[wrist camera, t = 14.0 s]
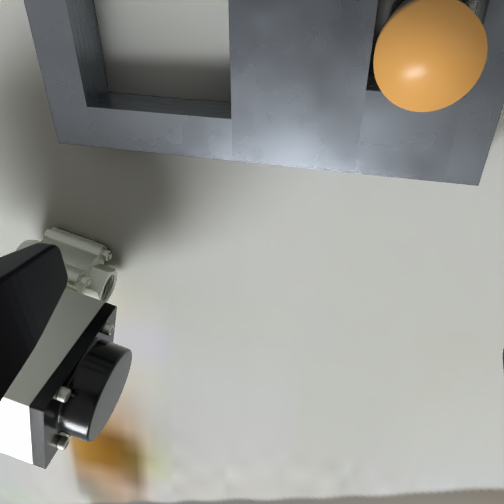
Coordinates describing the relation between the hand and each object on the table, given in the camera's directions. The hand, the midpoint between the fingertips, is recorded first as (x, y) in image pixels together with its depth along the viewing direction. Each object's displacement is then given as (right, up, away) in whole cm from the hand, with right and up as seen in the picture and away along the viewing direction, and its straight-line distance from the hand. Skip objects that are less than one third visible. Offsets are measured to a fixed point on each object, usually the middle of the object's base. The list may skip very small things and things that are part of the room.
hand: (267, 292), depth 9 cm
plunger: (+6, +9, +8) cm, 13 cm away
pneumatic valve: (-11, 0, +20) cm, 22 cm away
